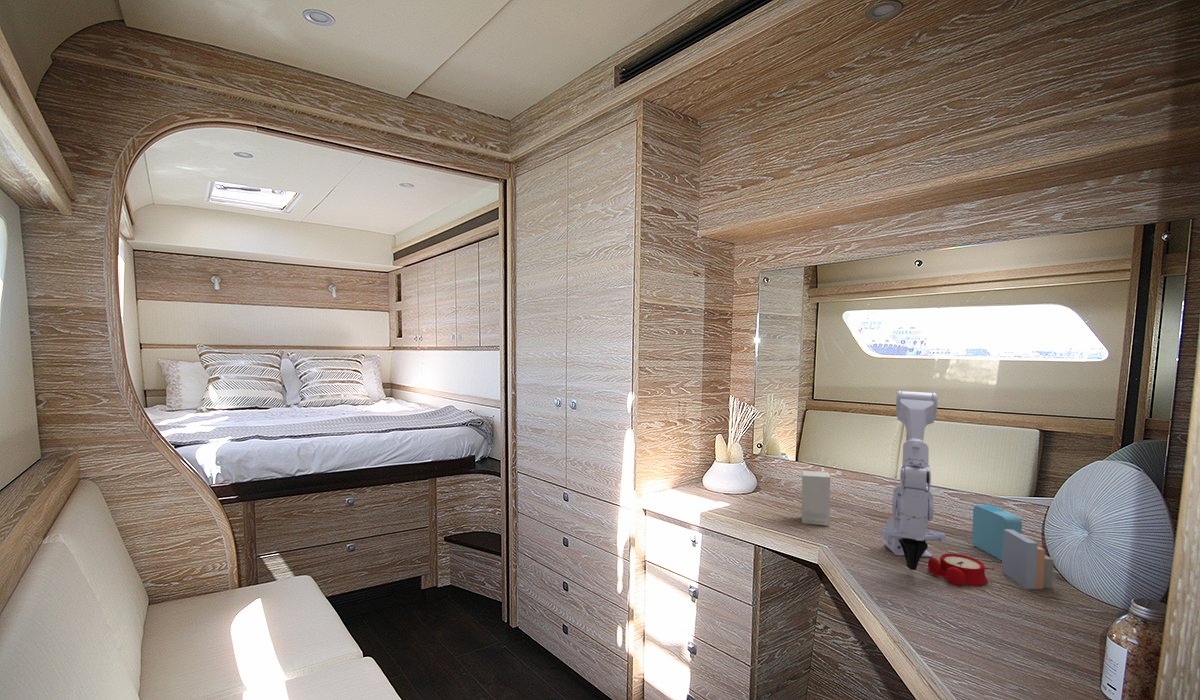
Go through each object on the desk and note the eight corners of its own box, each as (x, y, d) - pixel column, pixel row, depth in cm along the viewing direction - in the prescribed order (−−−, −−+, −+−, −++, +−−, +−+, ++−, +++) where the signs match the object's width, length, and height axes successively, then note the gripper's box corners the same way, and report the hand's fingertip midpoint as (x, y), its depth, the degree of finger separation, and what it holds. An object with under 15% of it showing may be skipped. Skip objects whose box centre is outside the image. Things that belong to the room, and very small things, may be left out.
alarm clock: (1001, 568, 132) (956, 561, 128) (996, 594, 132) (950, 588, 128) (962, 551, 142) (918, 544, 138) (956, 575, 142) (913, 569, 138)
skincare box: (828, 520, 175) (830, 472, 174) (829, 527, 168) (831, 477, 168) (800, 516, 177) (802, 469, 177) (800, 523, 171) (802, 474, 170)
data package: (1020, 562, 145) (1022, 518, 144) (1004, 562, 144) (1006, 518, 144) (986, 544, 157) (988, 503, 156) (971, 544, 156) (973, 503, 156)
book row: (1025, 588, 130) (1027, 542, 129) (1001, 571, 139) (1003, 529, 138) (1055, 590, 129) (1057, 544, 129) (1029, 573, 138) (1031, 530, 138)
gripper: (889, 518, 133) (887, 573, 133) (953, 521, 131) (950, 577, 132) (878, 509, 140) (876, 561, 140) (938, 512, 138) (936, 564, 139)
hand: (911, 568), depth 137 cm, fingers closed
